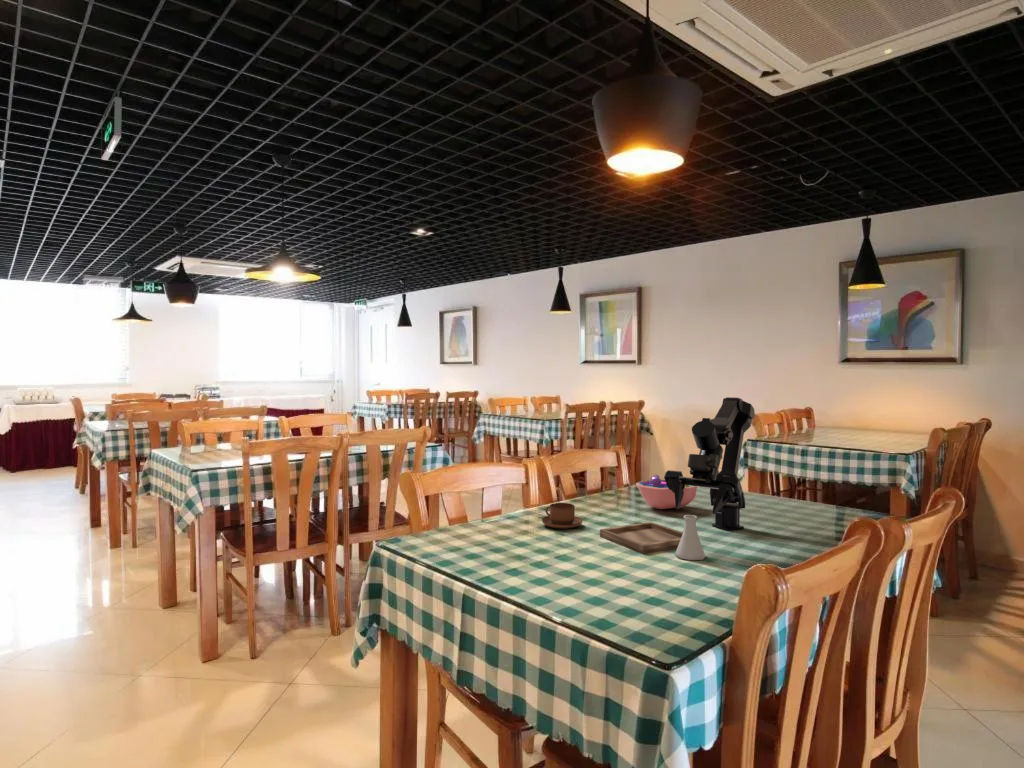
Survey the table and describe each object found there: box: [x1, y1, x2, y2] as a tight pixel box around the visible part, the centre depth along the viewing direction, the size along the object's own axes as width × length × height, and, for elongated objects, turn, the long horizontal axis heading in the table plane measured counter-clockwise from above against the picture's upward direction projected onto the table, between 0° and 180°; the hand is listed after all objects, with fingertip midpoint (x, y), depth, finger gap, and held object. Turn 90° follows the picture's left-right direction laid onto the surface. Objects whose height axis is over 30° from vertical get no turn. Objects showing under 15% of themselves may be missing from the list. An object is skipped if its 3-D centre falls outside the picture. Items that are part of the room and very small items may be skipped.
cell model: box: [635, 474, 698, 510], centre depth 200 cm, size 17×20×11 cm
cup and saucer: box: [541, 502, 583, 530], centre depth 178 cm, size 12×12×6 cm
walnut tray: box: [599, 521, 683, 555], centre depth 162 cm, size 18×18×2 cm
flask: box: [674, 514, 706, 561], centre depth 148 cm, size 7×7×10 cm
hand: (694, 510), depth 151 cm, fingers open, 9 cm apart
